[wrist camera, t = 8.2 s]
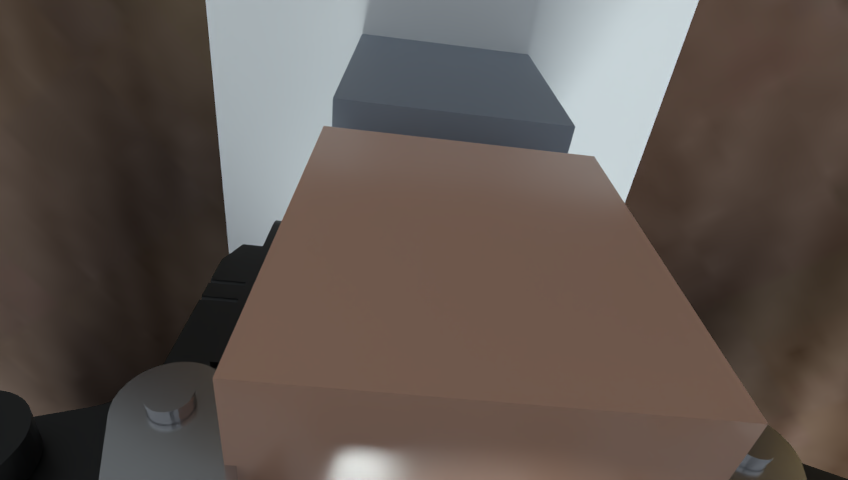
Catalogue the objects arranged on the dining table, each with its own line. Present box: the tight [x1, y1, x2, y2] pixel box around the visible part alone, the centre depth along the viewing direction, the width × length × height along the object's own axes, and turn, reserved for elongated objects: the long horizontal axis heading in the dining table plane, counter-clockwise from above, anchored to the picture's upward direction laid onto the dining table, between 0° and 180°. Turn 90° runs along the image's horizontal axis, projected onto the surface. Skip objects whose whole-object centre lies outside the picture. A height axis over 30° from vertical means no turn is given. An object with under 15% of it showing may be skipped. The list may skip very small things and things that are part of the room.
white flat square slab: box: [206, 0, 699, 254], centre depth 18 cm, size 14×14×2 cm
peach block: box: [212, 126, 768, 480], centre depth 9 cm, size 5×5×6 cm
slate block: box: [332, 34, 575, 153], centre depth 15 cm, size 5×5×6 cm
